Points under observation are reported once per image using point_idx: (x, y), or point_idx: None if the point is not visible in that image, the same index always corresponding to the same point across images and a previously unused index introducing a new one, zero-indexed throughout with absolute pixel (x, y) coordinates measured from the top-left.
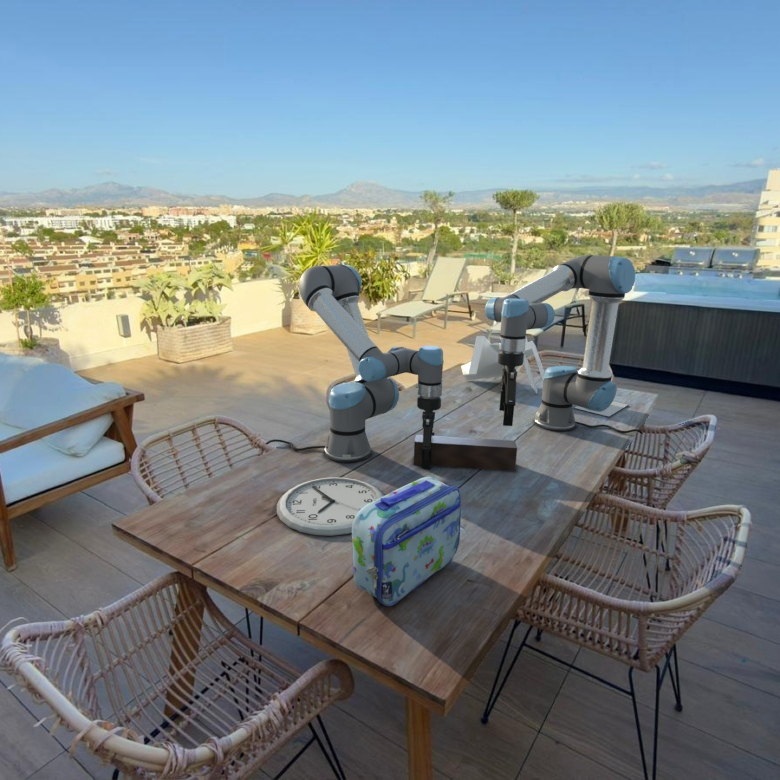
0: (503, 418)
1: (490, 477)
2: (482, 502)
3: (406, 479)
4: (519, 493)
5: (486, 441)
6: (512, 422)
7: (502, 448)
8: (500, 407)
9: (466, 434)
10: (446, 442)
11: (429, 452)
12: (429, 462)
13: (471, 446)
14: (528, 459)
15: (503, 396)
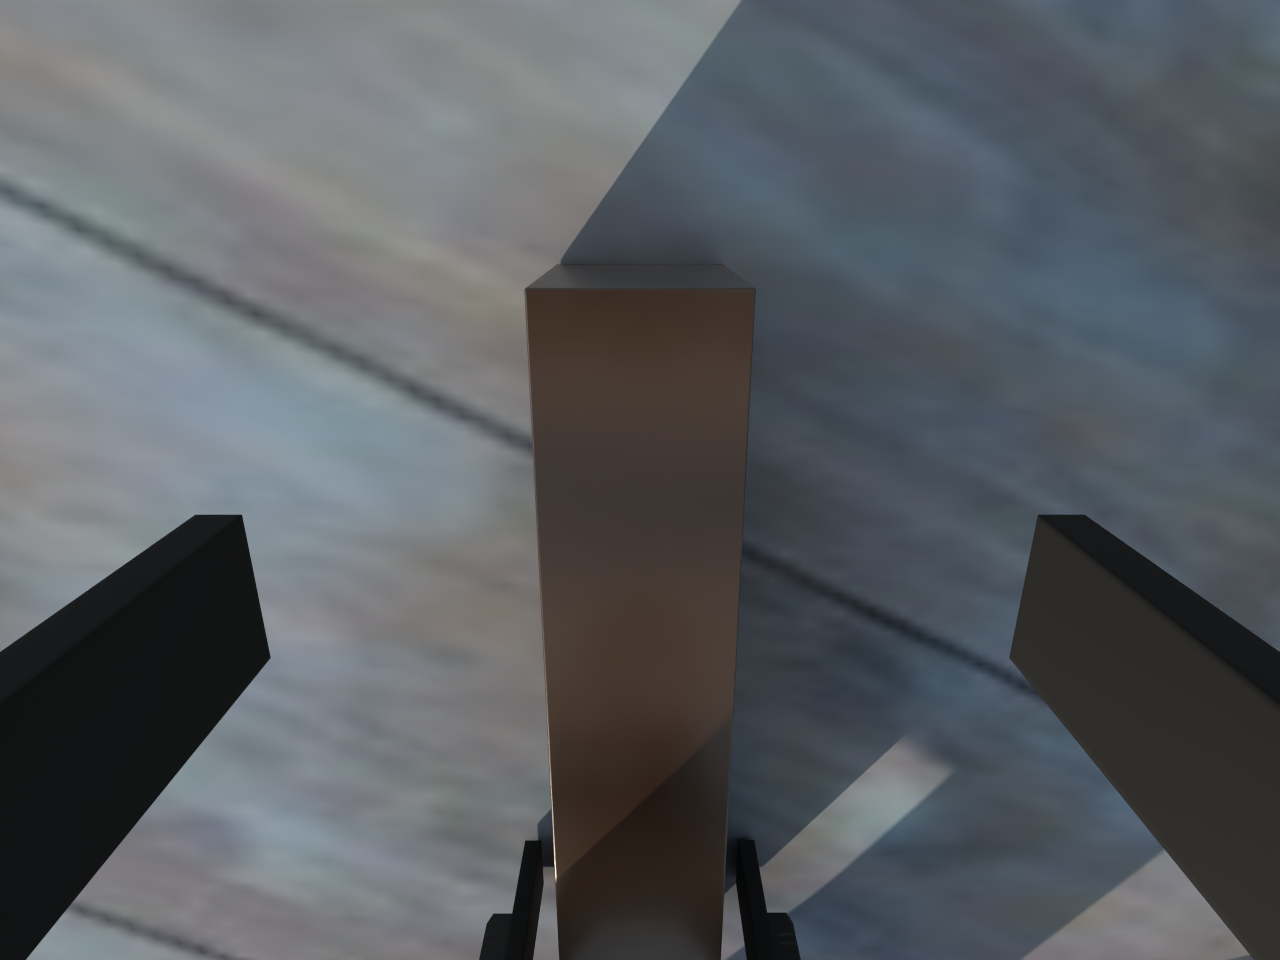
0: (1072, 734)
1: (849, 471)
2: (1228, 545)
3: (903, 938)
4: (1121, 270)
5: (613, 601)
6: (1124, 548)
7: (745, 447)
8: (235, 682)
9: (34, 618)
10: (695, 912)
11: (771, 954)
12: (759, 881)
13: (732, 725)
14: (432, 93)
15: (49, 839)
